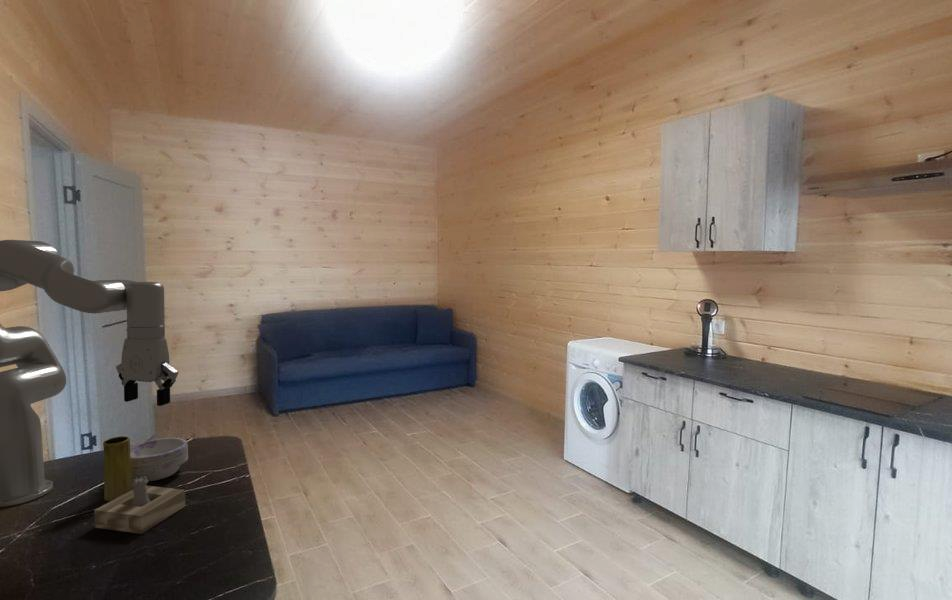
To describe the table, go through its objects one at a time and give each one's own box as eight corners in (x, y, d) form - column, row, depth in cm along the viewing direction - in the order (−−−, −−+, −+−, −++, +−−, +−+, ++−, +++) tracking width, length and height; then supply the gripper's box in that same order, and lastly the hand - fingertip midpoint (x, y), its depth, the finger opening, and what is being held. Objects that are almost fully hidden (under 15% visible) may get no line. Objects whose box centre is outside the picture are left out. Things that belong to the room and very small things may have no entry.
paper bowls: (149, 462, 139) (148, 435, 138) (200, 463, 138) (199, 437, 138) (107, 486, 124) (105, 457, 123) (164, 488, 123) (162, 458, 123)
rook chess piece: (125, 518, 107) (124, 484, 106) (134, 508, 111) (132, 475, 111) (148, 516, 108) (147, 481, 107) (156, 506, 112) (154, 473, 112)
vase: (117, 502, 116) (115, 445, 114) (97, 500, 117) (94, 443, 116) (140, 491, 121) (137, 436, 120) (120, 488, 123) (117, 434, 122)
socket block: (95, 527, 105) (94, 509, 105) (142, 500, 117) (142, 485, 116) (141, 533, 103) (140, 516, 102) (185, 506, 114) (184, 489, 114)
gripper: (102, 332, 114) (104, 402, 115) (162, 337, 110) (163, 410, 111) (131, 328, 121) (132, 394, 122) (188, 333, 117) (189, 401, 118)
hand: (147, 402), depth 117 cm, fingers open, 9 cm apart
